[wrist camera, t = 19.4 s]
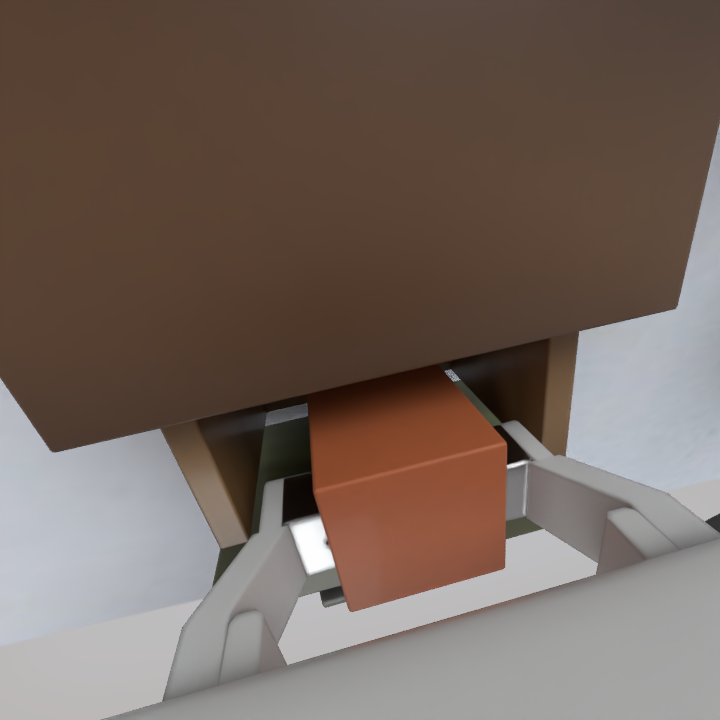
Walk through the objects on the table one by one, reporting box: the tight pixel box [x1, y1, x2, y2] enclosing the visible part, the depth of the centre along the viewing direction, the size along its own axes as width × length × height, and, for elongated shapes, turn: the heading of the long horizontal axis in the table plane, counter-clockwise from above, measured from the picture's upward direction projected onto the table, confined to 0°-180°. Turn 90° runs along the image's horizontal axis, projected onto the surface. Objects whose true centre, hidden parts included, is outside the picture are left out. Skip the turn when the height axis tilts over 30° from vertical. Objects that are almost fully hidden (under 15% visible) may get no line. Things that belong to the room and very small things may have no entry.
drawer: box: [160, 331, 579, 608], centre depth 12 cm, size 18×11×8 cm, turn 10°
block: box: [307, 364, 507, 612], centre depth 10 cm, size 4×4×4 cm
